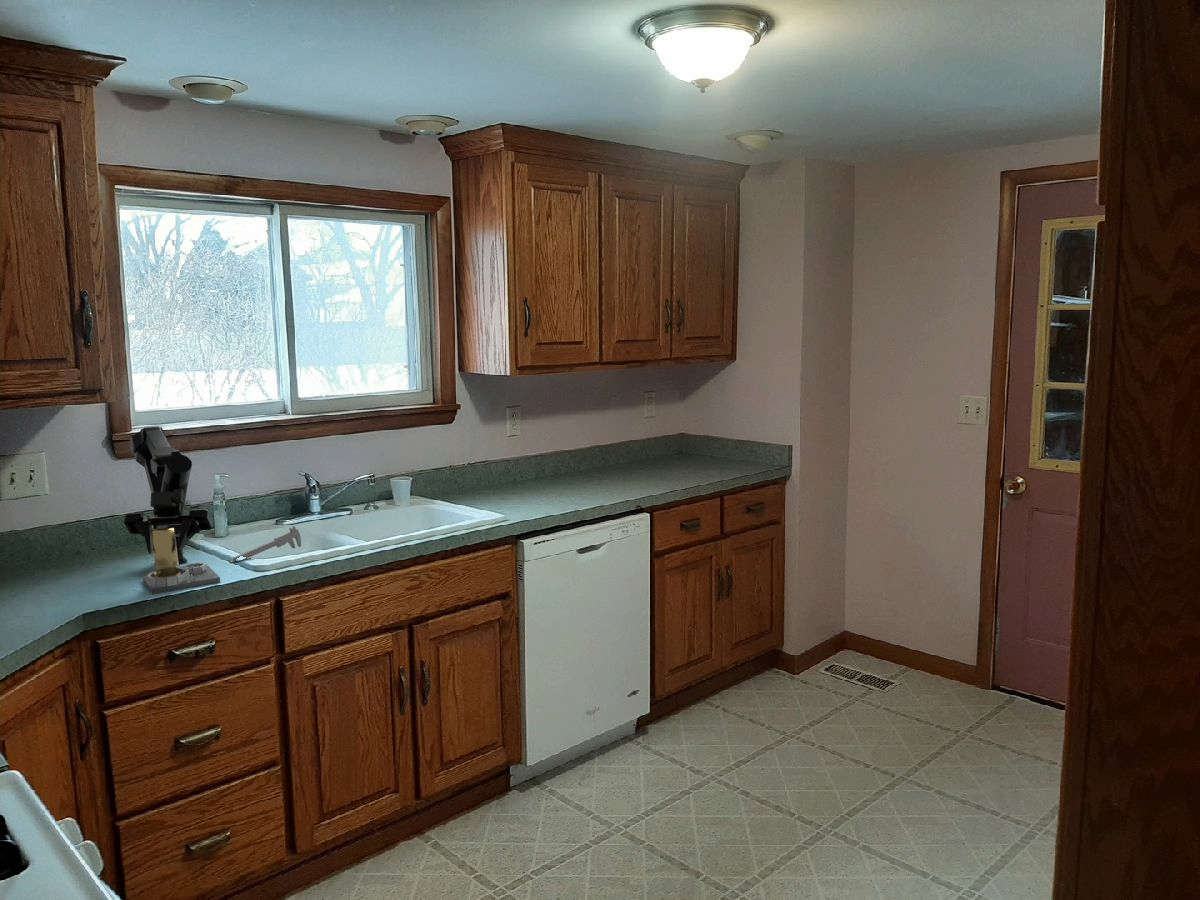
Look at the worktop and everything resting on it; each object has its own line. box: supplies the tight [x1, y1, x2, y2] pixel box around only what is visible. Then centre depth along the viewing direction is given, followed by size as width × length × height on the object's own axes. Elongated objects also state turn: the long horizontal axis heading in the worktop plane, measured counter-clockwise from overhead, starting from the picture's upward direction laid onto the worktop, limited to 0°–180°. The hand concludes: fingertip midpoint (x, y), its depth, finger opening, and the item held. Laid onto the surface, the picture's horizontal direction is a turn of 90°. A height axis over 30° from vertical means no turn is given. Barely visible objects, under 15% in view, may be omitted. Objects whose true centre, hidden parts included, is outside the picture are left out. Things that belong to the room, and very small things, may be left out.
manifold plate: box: [142, 562, 221, 595], centre depth 221 cm, size 13×15×3 cm
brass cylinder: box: [151, 524, 181, 578], centre depth 217 cm, size 5×5×14 cm
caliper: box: [228, 525, 302, 564], centre depth 244 cm, size 20×1×6 cm, turn 139°
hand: (164, 551), depth 215 cm, fingers open, 6 cm apart
